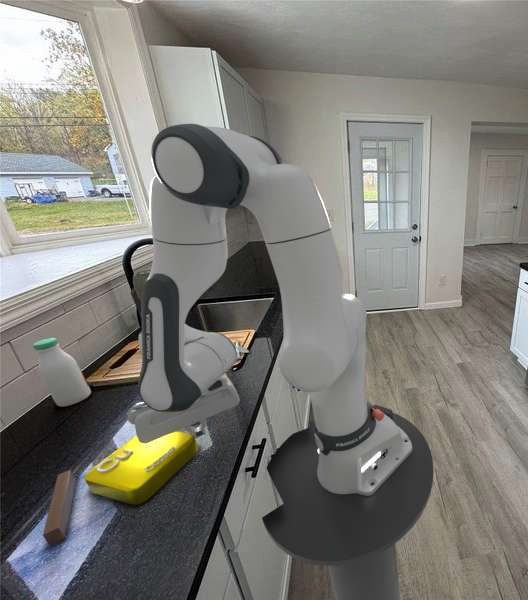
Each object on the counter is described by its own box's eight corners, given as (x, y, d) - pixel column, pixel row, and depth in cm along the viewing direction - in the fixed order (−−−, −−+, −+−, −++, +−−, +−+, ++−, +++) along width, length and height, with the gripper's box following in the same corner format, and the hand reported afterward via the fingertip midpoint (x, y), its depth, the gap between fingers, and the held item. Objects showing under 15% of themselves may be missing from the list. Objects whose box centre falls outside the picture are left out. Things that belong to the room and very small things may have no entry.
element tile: (140, 508, 62) (131, 491, 60) (87, 492, 65) (77, 475, 64) (203, 447, 75) (197, 432, 73) (155, 437, 79) (149, 422, 77)
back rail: (76, 479, 69) (70, 469, 67) (65, 538, 57) (58, 527, 56) (64, 484, 67) (57, 474, 66) (50, 546, 56) (42, 535, 55)
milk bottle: (92, 397, 95) (63, 340, 88) (56, 411, 90) (22, 351, 83) (91, 387, 101) (63, 332, 93) (57, 399, 96) (25, 342, 88)
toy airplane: (247, 338, 127) (246, 333, 126) (250, 363, 109) (249, 357, 108) (226, 344, 124) (225, 338, 123) (226, 370, 106) (224, 364, 105)
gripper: (122, 417, 62) (146, 468, 67) (233, 375, 74) (247, 421, 79) (123, 401, 67) (146, 450, 72) (228, 364, 78) (241, 408, 83)
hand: (199, 435), depth 75 cm, fingers closed
